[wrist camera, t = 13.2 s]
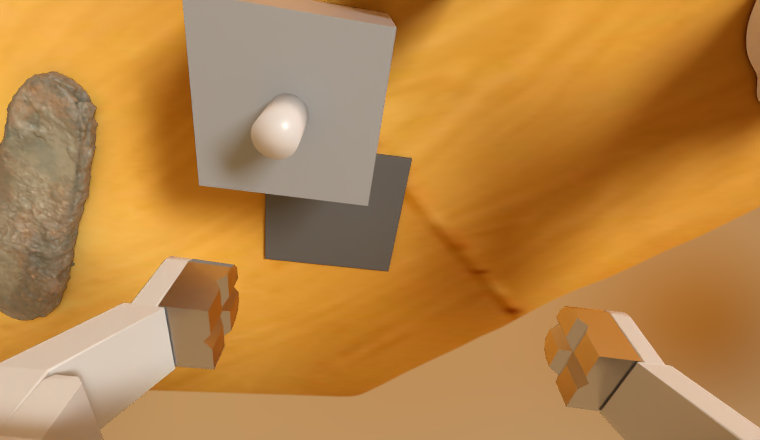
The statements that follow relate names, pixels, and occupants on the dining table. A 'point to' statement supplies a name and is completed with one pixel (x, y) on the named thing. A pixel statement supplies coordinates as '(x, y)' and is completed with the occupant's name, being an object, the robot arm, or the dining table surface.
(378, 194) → the mat
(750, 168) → the dining table surface
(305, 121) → the cover
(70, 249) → the elongated rock
